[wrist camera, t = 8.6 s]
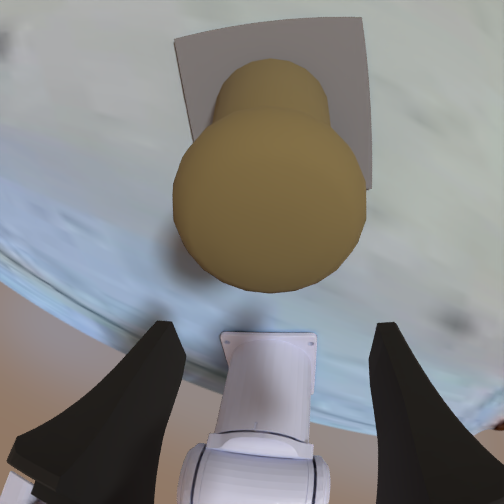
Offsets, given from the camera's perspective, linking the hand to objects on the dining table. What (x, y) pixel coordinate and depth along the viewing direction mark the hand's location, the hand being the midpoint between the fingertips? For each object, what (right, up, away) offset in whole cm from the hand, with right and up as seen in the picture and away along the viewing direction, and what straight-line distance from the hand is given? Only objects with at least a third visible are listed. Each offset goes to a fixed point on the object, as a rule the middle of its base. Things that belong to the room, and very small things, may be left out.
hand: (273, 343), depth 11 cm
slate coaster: (+1, +11, +6) cm, 13 cm away
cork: (0, +11, +5) cm, 12 cm away
